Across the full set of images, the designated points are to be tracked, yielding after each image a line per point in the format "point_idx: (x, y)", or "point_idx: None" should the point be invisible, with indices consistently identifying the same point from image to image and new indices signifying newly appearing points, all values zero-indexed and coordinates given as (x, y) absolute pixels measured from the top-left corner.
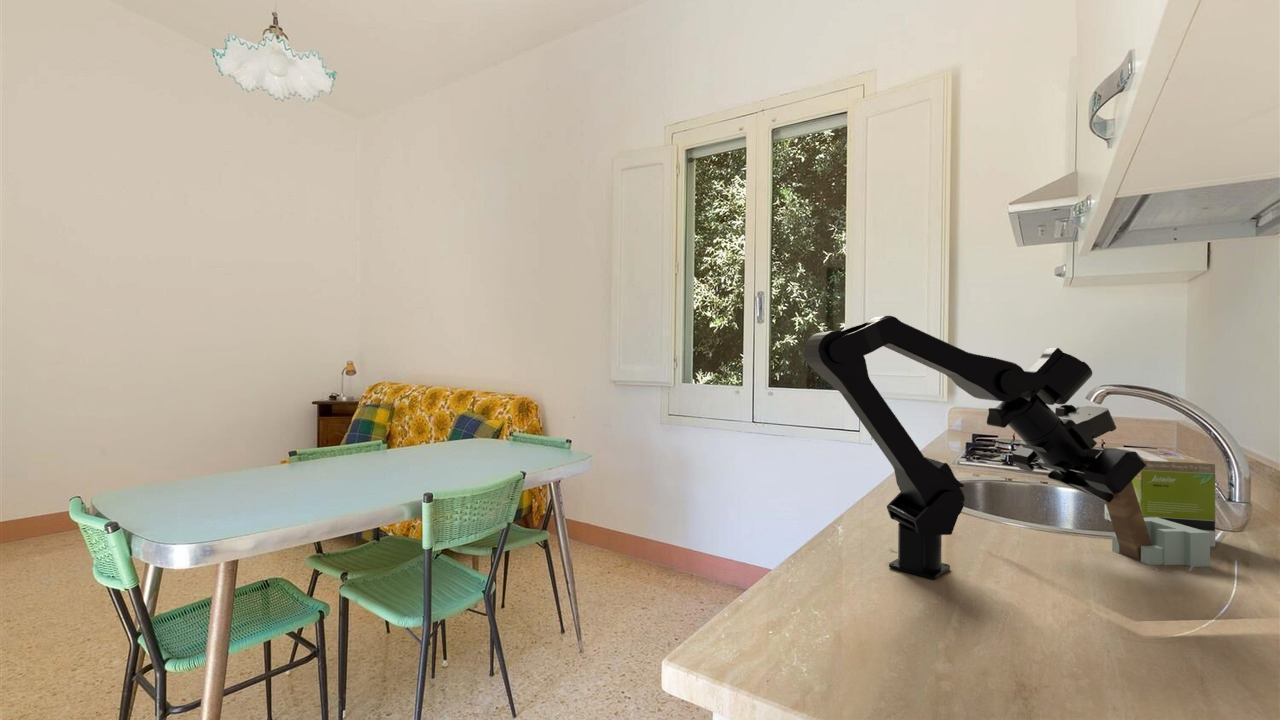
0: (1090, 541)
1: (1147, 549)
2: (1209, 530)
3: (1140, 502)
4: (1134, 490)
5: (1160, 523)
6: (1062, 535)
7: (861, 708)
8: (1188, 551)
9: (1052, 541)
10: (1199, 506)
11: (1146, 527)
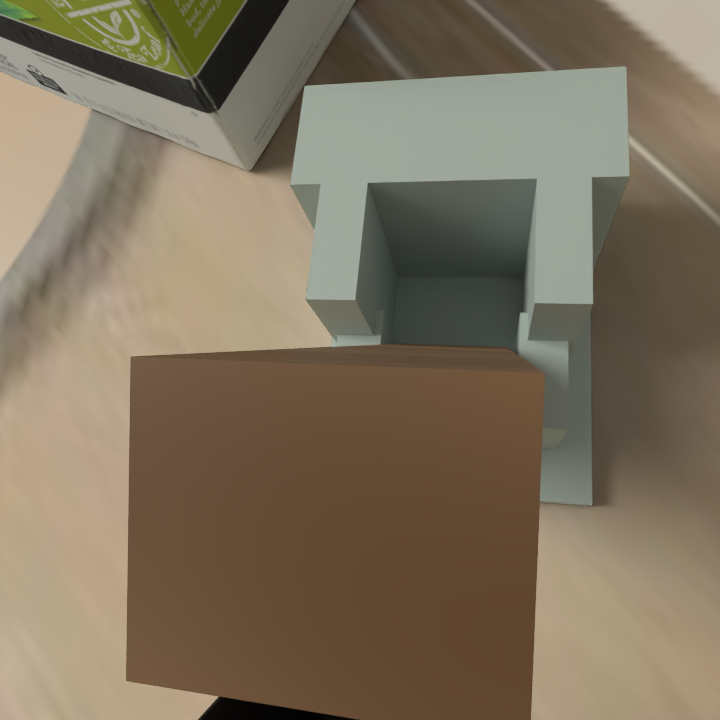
0: (144, 322)
1: (560, 430)
2: None
3: (148, 21)
4: (519, 357)
5: (419, 172)
6: (48, 375)
7: None
8: (597, 236)
9: (98, 505)
10: None
11: (509, 349)
